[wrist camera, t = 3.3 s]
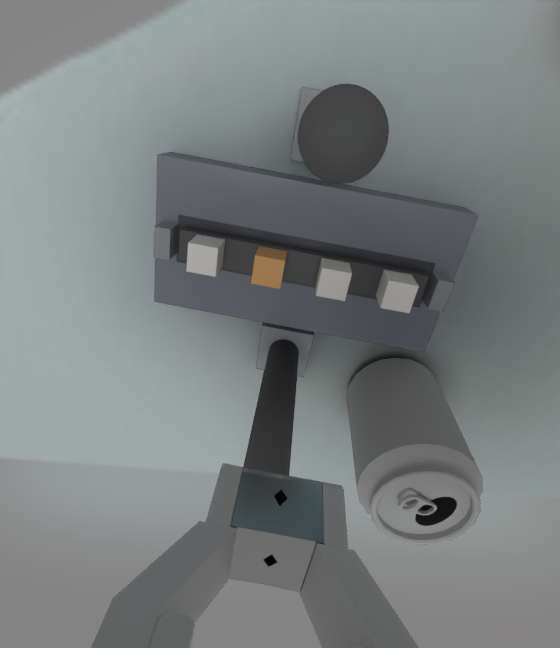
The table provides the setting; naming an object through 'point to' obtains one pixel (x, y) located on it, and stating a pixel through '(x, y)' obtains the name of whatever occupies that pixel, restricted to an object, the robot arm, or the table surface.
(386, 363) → the can
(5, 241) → the table surface
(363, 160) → the disc
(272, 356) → the post
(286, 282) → the breaker panel
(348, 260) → the breaker paddles
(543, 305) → the table surface
